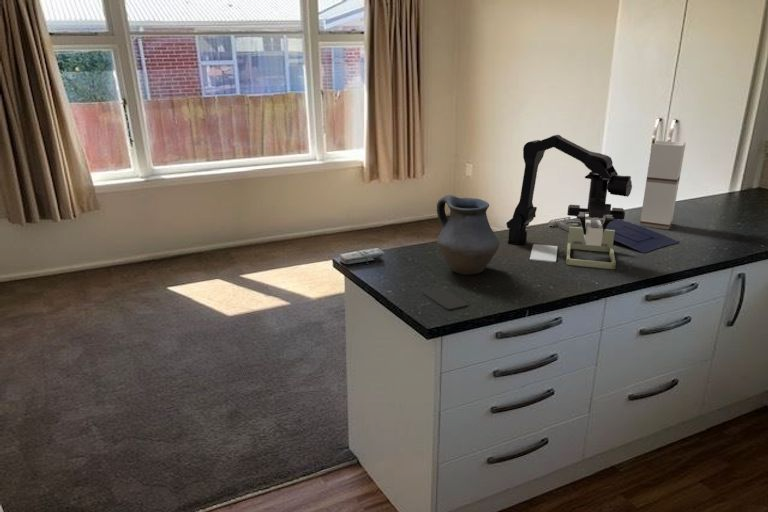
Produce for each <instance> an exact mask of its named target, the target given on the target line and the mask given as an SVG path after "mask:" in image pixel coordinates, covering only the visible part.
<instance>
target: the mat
mask: <svg viewBox="0 0 768 512" xmlns="http://www.w3.org/2000/svg"><path fill="white" fill-rule="evenodd" d="M558 247H559V246H557V245H549V244H548V245H547V244H537V243H533V244H532V249H531V252H530V257H529V260H530V261H534V262H535V261H536V262H546V263H556V262H557V256H558Z"/></svg>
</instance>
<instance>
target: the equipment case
mask: <svg viewBox="0 0 768 512" xmlns="http://www.w3.org/2000/svg"><path fill="white" fill-rule="evenodd" d="M614 234H615V230H606V229H605V230H604V232H603V235H602V243H601V246H594V245H586V243H585V239H584V232H583V228H581V227H569V231H568V236H567V237H568V238H567V245H566V249H567V250H566V260H565V261H566V263H565V265H566V266H567V265H568V266H578V267H588V268H597V269H609V270H616V266H617V264H616V263H617V262H616V258H615V252H614V241H615V240H614ZM571 250H580V251H582V250H583V251H591V252H592V251H593V252H605V253H609V259H610V261H600V260H599V261H598V260H590V259H580V258H579V259H578V258H571Z"/></svg>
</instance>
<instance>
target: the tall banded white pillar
mask: <svg viewBox="0 0 768 512" xmlns="http://www.w3.org/2000/svg"><path fill="white" fill-rule="evenodd" d="M654 142H655V143H654ZM654 142H653V143H651V148H650V153H649V159H648V161H649V162H648V167H647V176H646V181H645V187H644V195H643V199H642V206H641V207H642V209H641V215H640V219H639V222H640V223H639V226H641V227H645V228H646V227H647V228H652V229H653V228H655V229H661V230H668V229H669V230H670V228H671V227H672V225H673V221H674V220H673V218H674V212H675V207H676V201H677V194H678V189H679V184H680V179H681V173H682V167H683V161H684V157H685V156H684V155H685V149H686V142H680V141H667V140H666V141H665V140H655V141H654ZM671 224H672V225H671ZM670 226H671V227H670Z"/></svg>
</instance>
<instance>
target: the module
mask: <svg viewBox="0 0 768 512" xmlns="http://www.w3.org/2000/svg"><path fill="white" fill-rule="evenodd" d="M585 222H586V234H585V235H584V239H585V243H586V245H594V246H601V243H602V235H603V227H602V224H601V221H600V219H596V218H590V219H586V218H585Z"/></svg>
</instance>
